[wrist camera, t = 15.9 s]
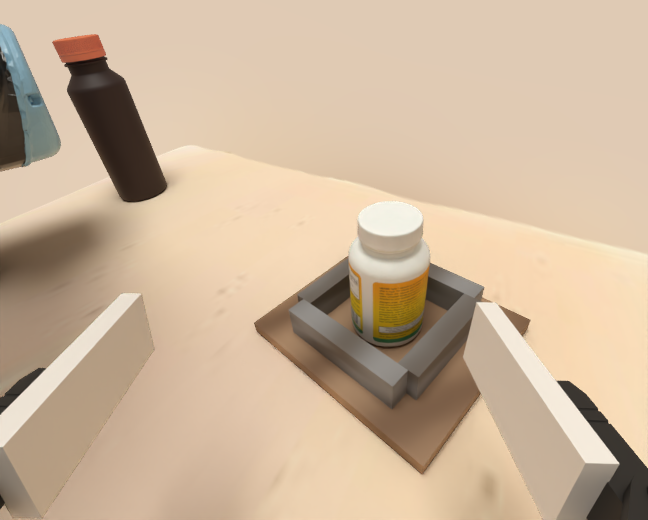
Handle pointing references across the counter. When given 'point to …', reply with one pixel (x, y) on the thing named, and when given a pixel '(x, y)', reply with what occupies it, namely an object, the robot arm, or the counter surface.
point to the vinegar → (111, 119)
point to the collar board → (387, 359)
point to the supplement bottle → (388, 273)
